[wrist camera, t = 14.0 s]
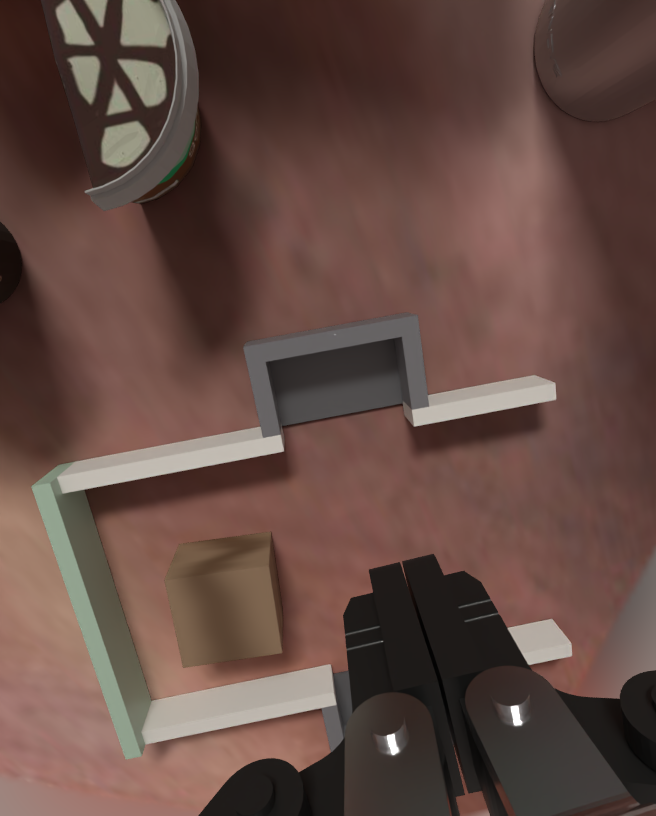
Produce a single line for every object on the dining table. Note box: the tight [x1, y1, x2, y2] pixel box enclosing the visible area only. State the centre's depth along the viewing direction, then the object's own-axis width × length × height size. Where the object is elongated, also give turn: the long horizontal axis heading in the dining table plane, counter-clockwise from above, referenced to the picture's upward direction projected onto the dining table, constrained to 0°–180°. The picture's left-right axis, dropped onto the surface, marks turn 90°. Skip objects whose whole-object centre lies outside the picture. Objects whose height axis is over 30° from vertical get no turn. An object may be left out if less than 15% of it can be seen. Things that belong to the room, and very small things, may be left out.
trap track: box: [31, 313, 572, 759], centre depth 38 cm, size 35×35×4 cm
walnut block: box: [164, 532, 283, 668], centre depth 37 cm, size 7×7×5 cm
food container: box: [41, 0, 201, 211], centre depth 27 cm, size 12×6×10 cm, turn 10°
